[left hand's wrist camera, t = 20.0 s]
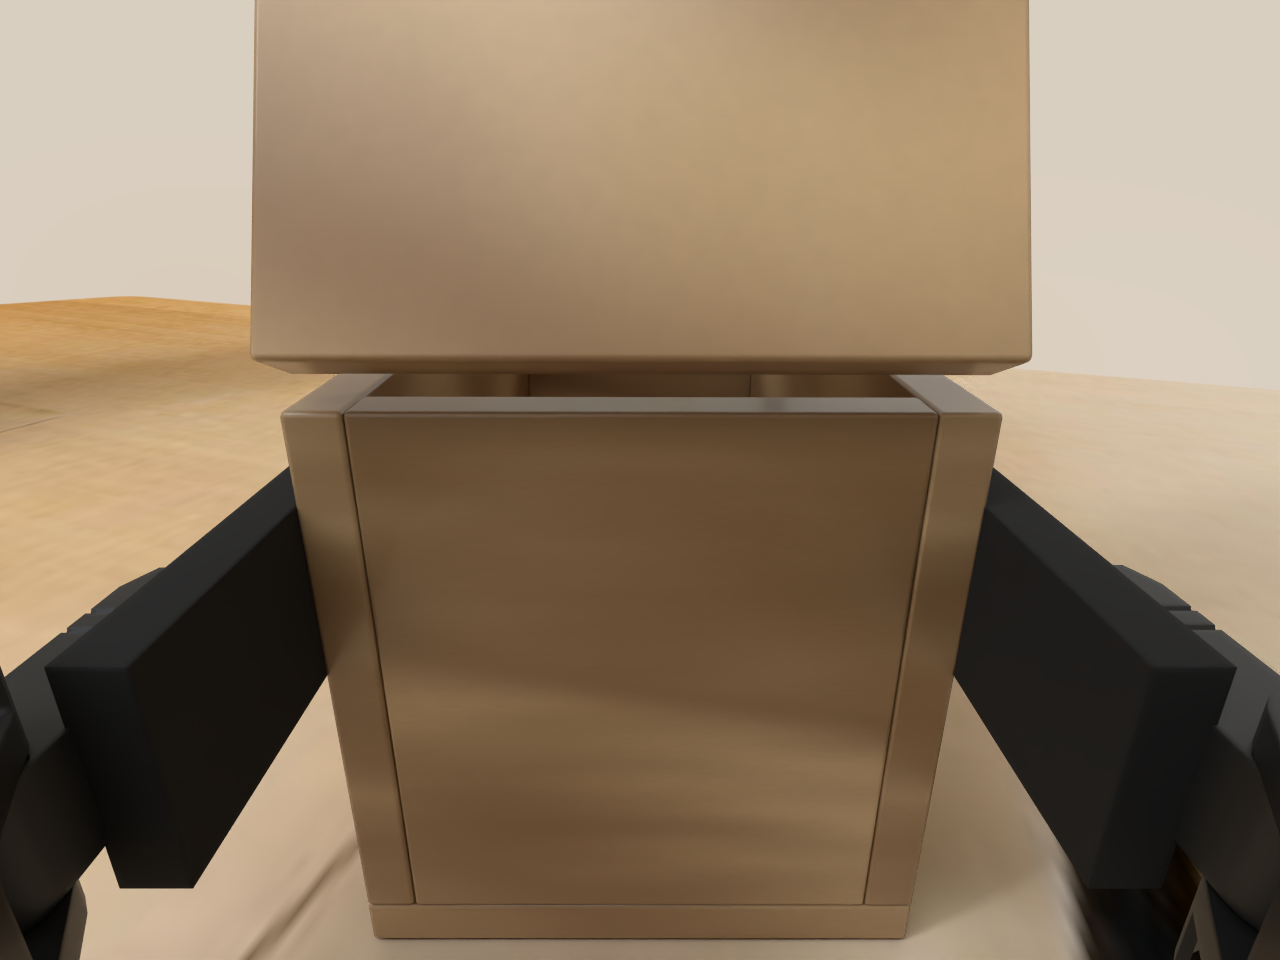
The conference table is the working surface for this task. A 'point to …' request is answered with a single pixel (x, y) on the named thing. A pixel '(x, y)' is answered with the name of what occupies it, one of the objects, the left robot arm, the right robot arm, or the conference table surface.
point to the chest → (640, 642)
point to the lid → (641, 187)
